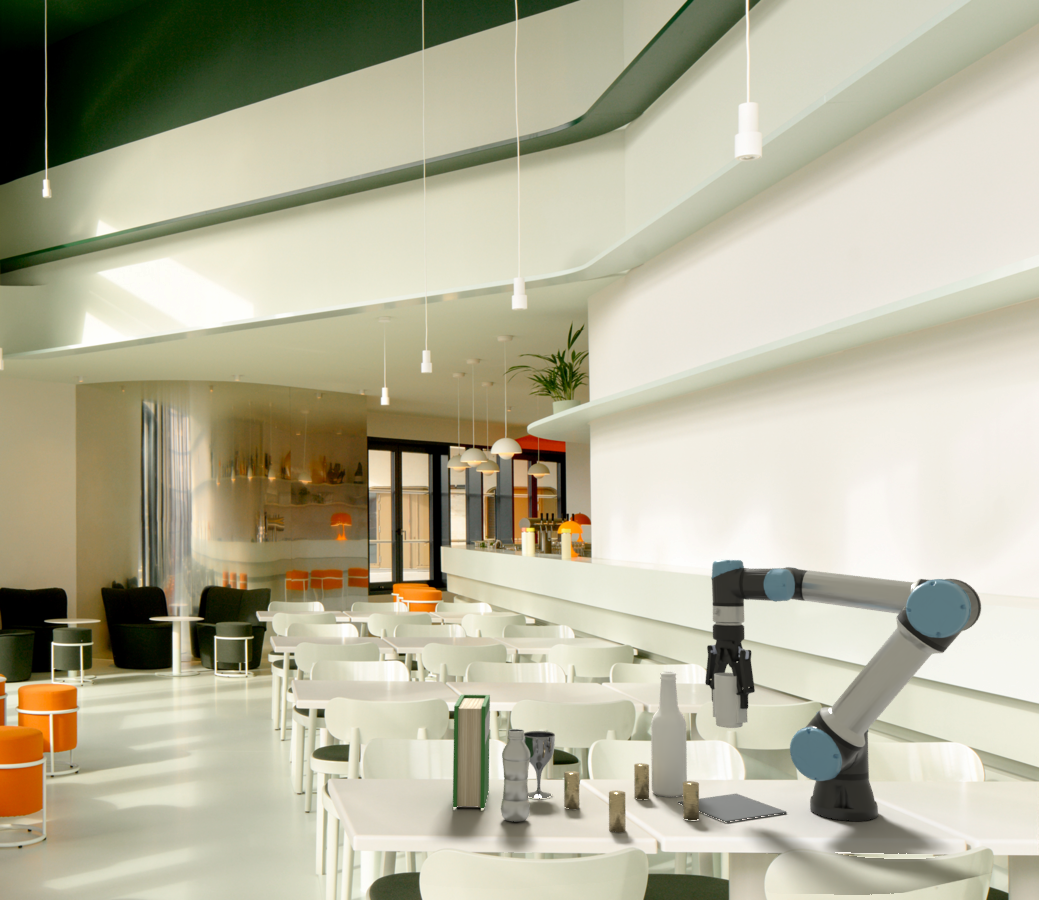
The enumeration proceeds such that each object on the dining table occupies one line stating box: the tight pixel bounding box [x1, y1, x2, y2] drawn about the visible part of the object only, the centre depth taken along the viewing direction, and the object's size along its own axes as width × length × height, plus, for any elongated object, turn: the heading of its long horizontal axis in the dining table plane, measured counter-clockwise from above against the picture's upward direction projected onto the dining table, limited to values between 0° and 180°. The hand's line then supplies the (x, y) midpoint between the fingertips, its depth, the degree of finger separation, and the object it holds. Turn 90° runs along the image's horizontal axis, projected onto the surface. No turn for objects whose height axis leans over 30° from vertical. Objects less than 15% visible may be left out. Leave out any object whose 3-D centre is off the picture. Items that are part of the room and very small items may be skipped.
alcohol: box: [650, 671, 688, 798], centre depth 241 cm, size 9×9×30 cm
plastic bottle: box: [500, 728, 531, 823], centre depth 216 cm, size 6×7×20 cm
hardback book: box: [452, 694, 491, 808], centre depth 233 cm, size 18×7×24 cm, turn 178°
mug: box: [714, 672, 744, 729], centre depth 229 cm, size 10×7×12 cm, turn 171°
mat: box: [677, 793, 788, 822], centre depth 226 cm, size 18×18×1 cm
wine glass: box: [523, 730, 556, 799], centre depth 237 cm, size 8×8×15 cm
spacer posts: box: [563, 762, 700, 834], centre depth 222 cm, size 24×24×8 cm
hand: (729, 719), depth 228 cm, fingers closed on mug, 8 cm apart
